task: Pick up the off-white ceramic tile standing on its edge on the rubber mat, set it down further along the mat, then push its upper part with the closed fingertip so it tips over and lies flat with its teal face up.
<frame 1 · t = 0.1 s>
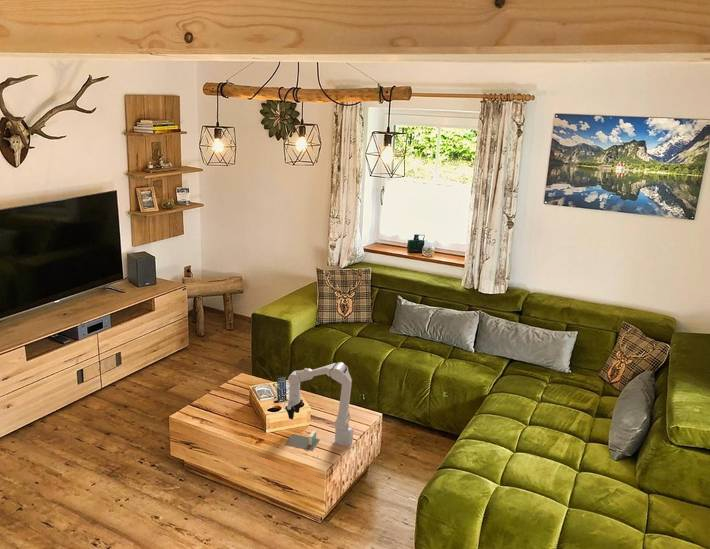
hand: (293, 415, 338), 10 cm above the table, fingers open, 7 cm apart
mat: (302, 442, 331), on the table
tile: (312, 442, 331), resting on mat
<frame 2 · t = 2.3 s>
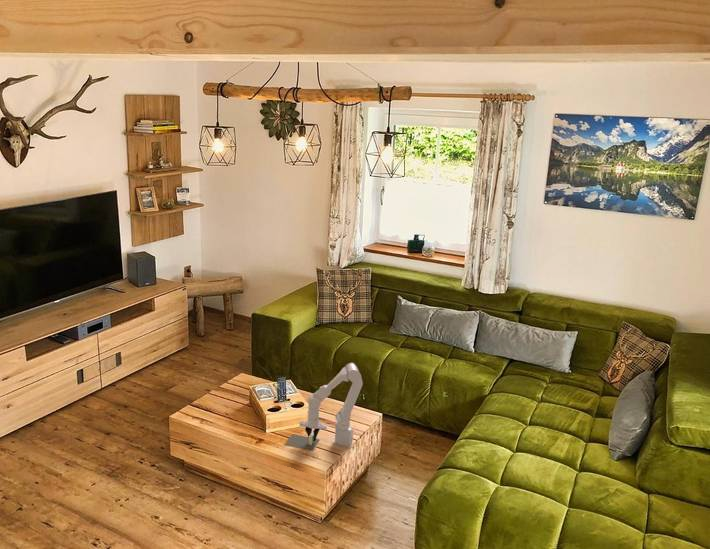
hand: (312, 439, 331), 2 cm above the table, fingers closed on tile, 2 cm apart
tile: (312, 442, 331), resting on mat, touching gripper
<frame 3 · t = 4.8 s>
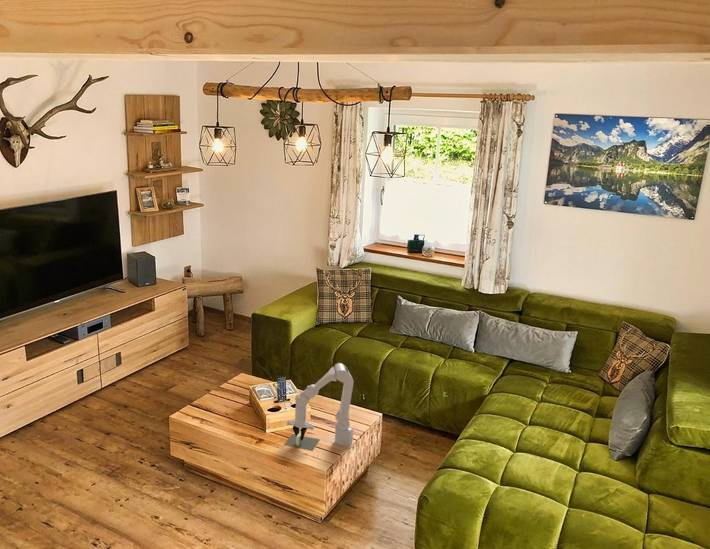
hand: (299, 438, 329), 3 cm above the table, fingers closed on tile, 2 cm apart
tile: (299, 442, 330), resting on mat, touching gripper
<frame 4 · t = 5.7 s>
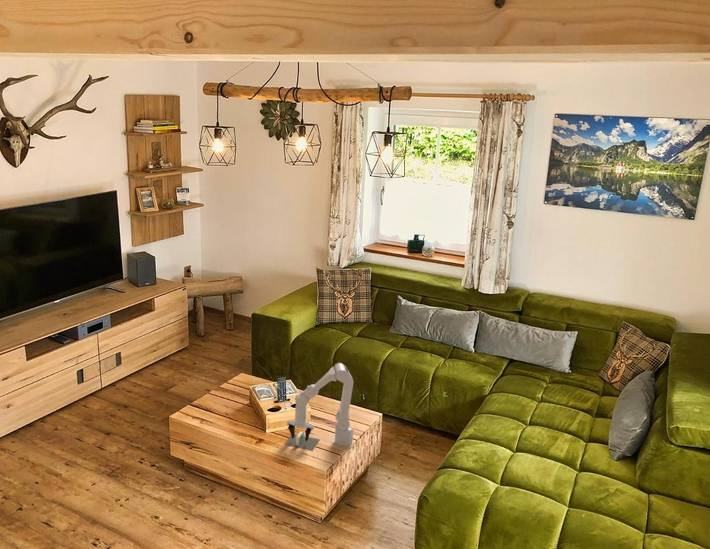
hand: (299, 439, 329), 3 cm above the table, fingers open, 7 cm apart
tile: (299, 442, 330), resting on mat
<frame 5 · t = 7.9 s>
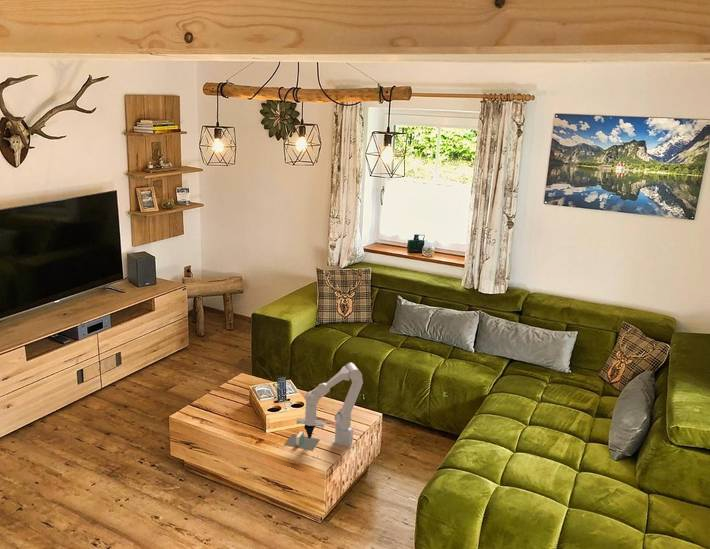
hand: (309, 437, 327), 5 cm above the table, fingers closed
nothing on the table moved.
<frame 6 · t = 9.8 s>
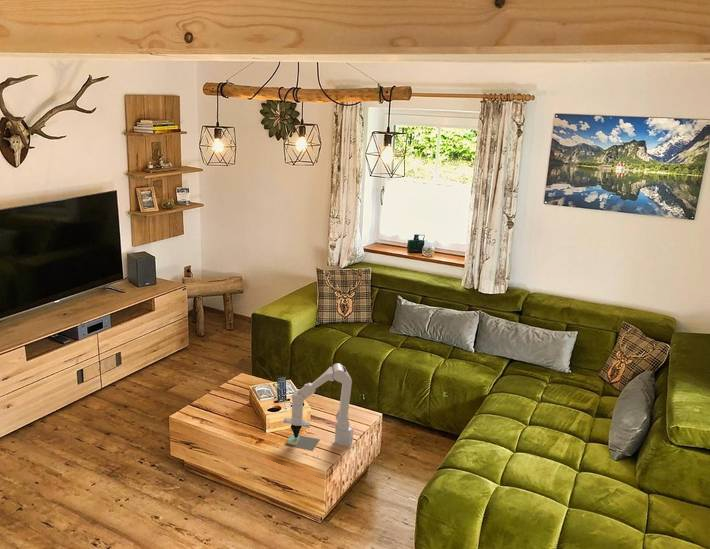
hand: (296, 436, 329), 3 cm above the table, fingers closed
tile: (297, 440, 330), point 1 cm above the table, tilted 90°, touching mat
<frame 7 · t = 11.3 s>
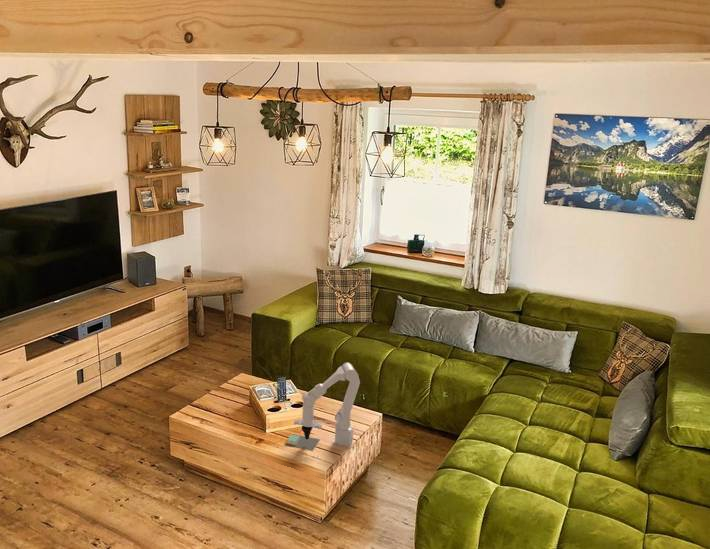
hand: (307, 438, 328), 4 cm above the table, fingers closed
nothing on the table moved.
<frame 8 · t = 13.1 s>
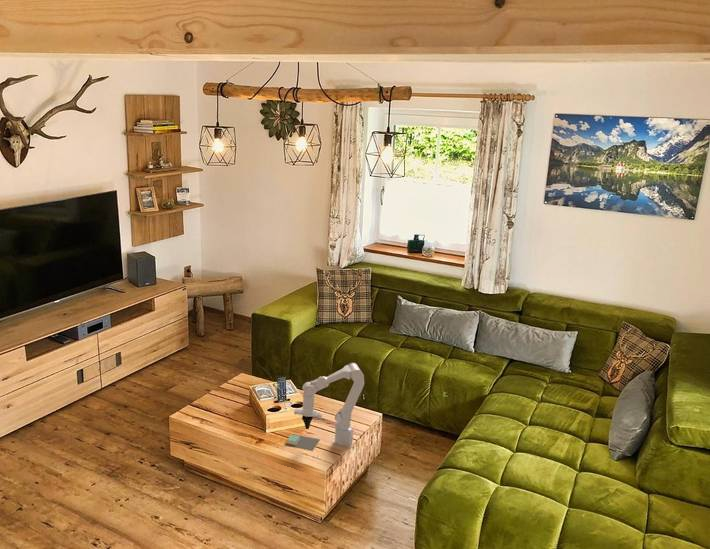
hand: (307, 428, 326), 10 cm above the table, fingers closed
nothing on the table moved.
at the end: tile tilted 90°; tile inside the target area (1.8 cm from its centre), point 1.4 cm above the table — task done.
